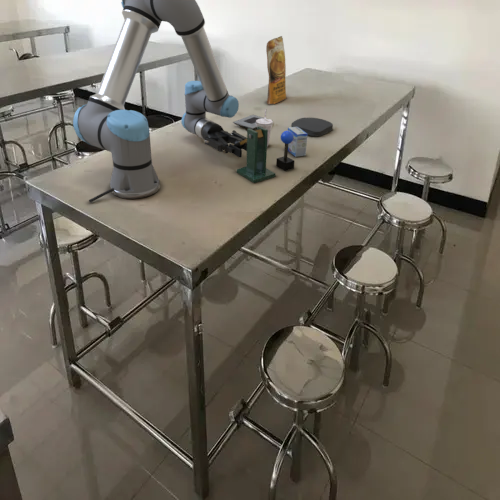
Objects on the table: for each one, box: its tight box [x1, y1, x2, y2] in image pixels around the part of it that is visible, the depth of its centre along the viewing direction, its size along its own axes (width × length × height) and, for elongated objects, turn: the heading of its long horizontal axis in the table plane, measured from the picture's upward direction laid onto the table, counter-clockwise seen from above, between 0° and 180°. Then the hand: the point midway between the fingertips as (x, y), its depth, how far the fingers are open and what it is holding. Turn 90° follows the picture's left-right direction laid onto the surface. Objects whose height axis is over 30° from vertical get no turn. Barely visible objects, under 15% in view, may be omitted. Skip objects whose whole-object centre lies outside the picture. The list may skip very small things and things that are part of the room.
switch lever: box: [233, 129, 263, 150], centre depth 162 cm, size 15×4×4 cm
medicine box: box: [287, 126, 309, 158], centre depth 179 cm, size 8×4×9 cm, turn 23°
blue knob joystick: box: [275, 130, 295, 172], centre depth 166 cm, size 4×5×13 cm
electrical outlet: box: [232, 114, 268, 130], centre depth 203 cm, size 13×10×2 cm
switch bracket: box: [236, 126, 276, 184], centre depth 160 cm, size 10×9×16 cm
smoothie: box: [256, 108, 274, 148], centre depth 182 cm, size 6×6×14 cm
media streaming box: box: [290, 117, 334, 137], centre depth 201 cm, size 15×15×3 cm
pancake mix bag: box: [265, 35, 287, 105], centre depth 227 cm, size 7×19×28 cm, turn 149°
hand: (247, 152), depth 164 cm, fingers open, 5 cm apart
